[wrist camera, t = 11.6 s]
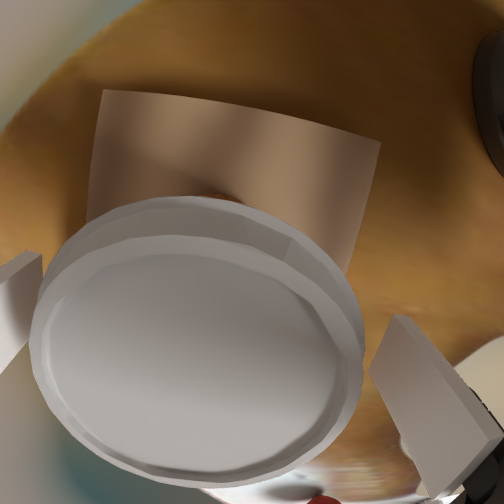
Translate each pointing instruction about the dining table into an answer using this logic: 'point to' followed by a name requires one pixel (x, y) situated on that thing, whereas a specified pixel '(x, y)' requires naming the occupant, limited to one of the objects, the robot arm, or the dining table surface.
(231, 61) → the dining table surface
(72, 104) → the dining table surface
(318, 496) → the onion
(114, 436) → the disposable coffee cup
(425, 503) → the jar
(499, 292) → the dining table surface
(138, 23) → the dining table surface
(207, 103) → the square wooden board
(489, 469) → the robot arm
